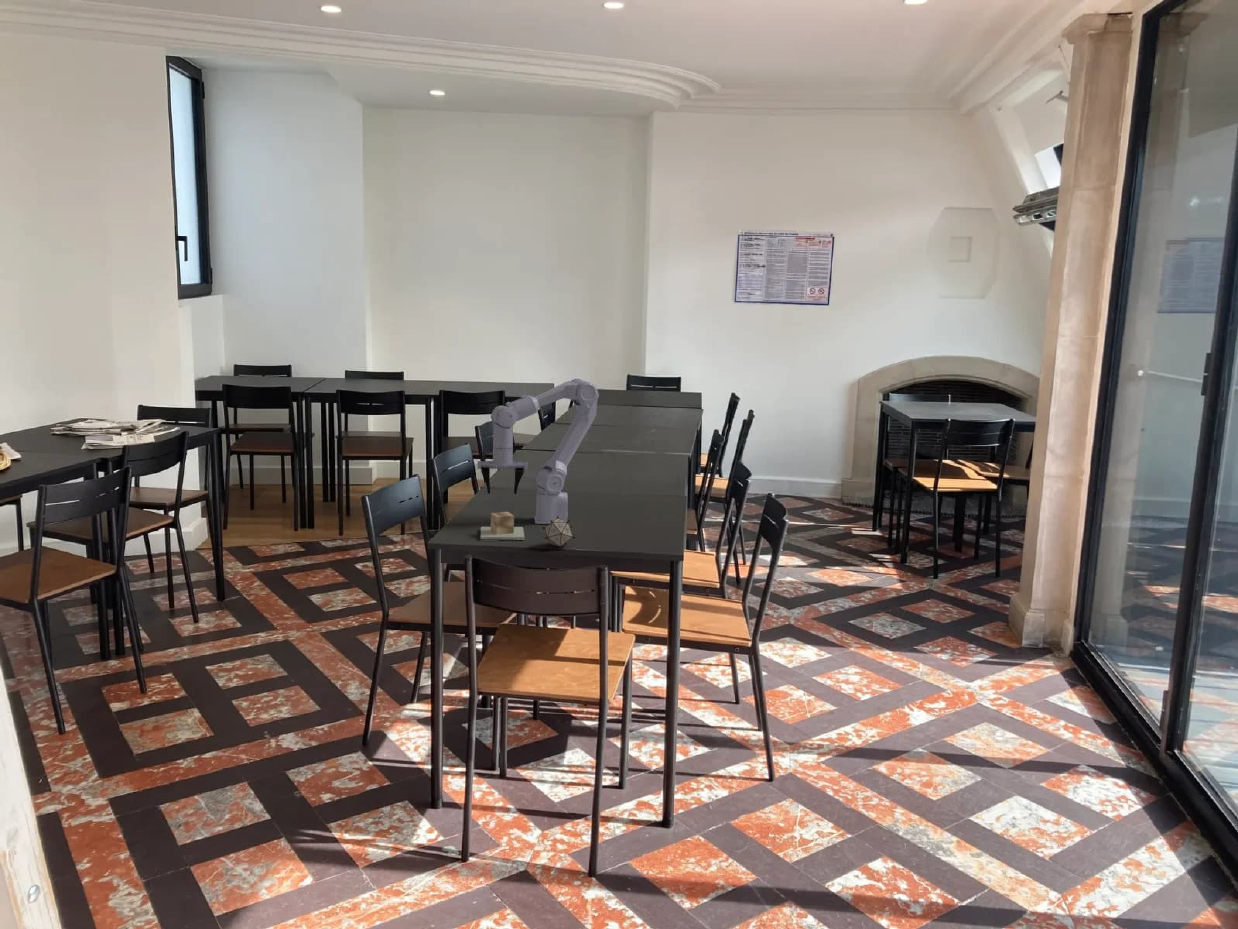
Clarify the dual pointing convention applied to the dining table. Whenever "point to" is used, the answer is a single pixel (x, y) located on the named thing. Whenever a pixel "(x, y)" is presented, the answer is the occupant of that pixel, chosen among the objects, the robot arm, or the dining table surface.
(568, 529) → the game die
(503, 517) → the maple block
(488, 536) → the sage tile
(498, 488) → the dining table surface
